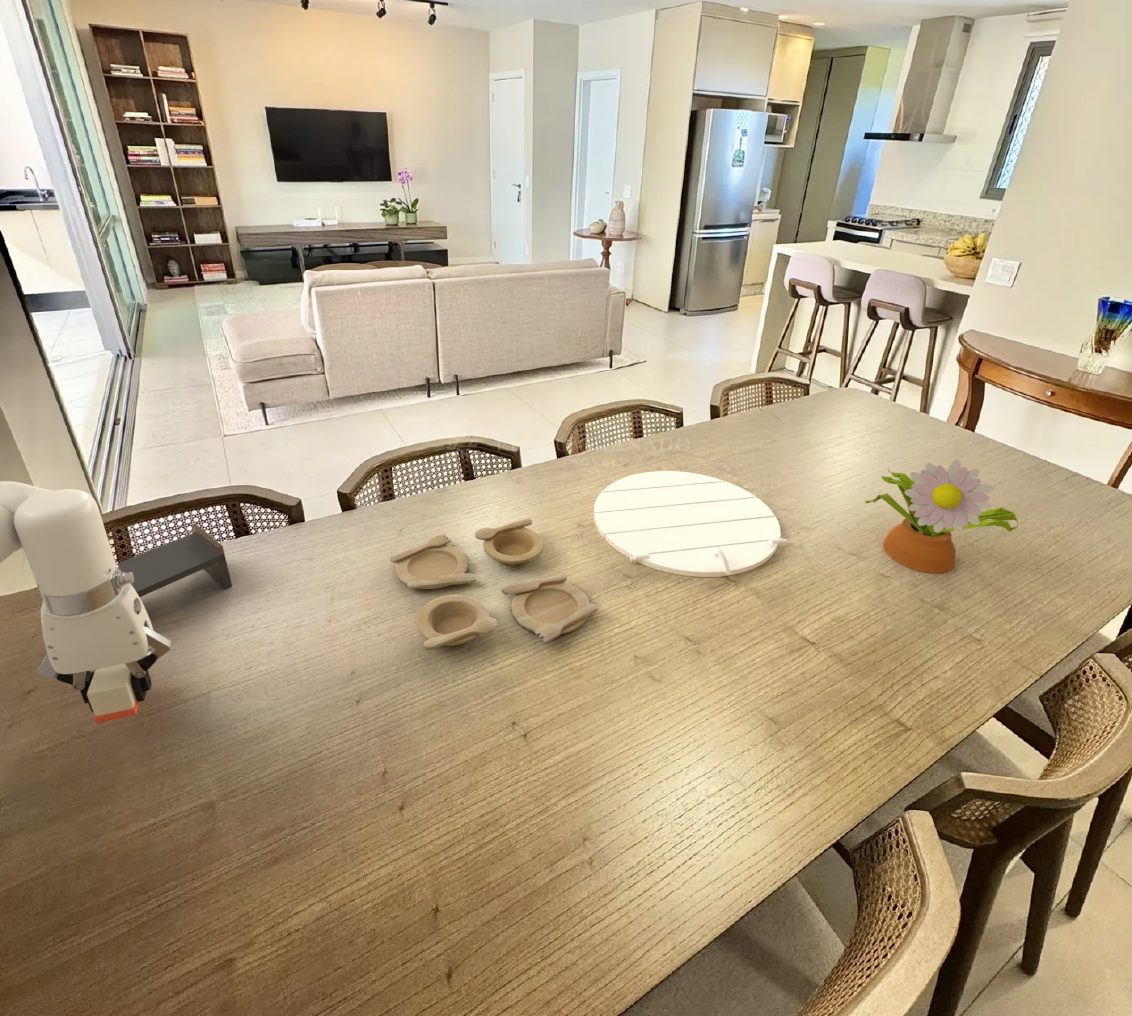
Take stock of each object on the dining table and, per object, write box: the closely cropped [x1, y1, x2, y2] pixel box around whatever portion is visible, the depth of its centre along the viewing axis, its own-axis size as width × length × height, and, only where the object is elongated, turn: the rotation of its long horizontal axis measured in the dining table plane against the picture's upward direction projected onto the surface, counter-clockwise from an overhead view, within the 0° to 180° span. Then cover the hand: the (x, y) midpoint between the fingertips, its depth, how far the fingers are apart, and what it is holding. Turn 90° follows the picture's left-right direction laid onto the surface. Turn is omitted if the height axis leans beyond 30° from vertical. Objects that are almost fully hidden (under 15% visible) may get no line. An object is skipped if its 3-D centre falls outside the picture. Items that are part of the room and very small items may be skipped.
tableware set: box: [389, 518, 598, 651], centre depth 112 cm, size 35×29×4 cm
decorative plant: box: [864, 459, 1020, 575], centre depth 123 cm, size 27×24×25 cm
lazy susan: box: [593, 470, 789, 578], centre depth 135 cm, size 40×39×3 cm
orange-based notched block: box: [87, 664, 140, 725], centre depth 84 cm, size 10×4×5 cm, turn 21°
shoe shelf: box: [116, 523, 233, 598], centre depth 106 cm, size 16×10×9 cm, turn 141°
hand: (120, 697), depth 84 cm, fingers closed on orange-based notched block, 4 cm apart
